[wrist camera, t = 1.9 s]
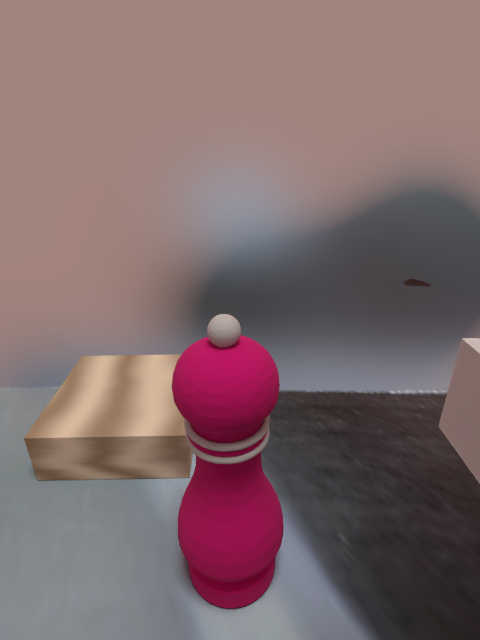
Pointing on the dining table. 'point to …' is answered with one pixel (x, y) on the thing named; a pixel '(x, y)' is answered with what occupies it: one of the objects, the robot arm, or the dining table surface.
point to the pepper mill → (228, 465)
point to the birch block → (112, 423)
